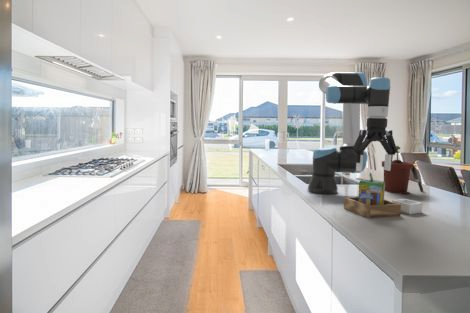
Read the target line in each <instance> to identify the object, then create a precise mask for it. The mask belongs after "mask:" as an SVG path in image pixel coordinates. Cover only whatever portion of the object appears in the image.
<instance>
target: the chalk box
mask: <svg viewBox="0 0 470 313" xmlns="http://www.w3.org/2000/svg"><path fill="white" fill-rule="evenodd" d="M369 178H370V179H364V178H363V179H360V181H359V182H358V197H359V200H358V202H361V203H364V204H366V205H384V199H385V192H386V191H385V181H384V180H377V179H376V180H375V179H373V175H372V172H369Z"/></svg>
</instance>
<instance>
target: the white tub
mask: <svg viewBox="0 0 470 313" xmlns="http://www.w3.org/2000/svg"><path fill="white" fill-rule="evenodd" d="M391 202H395V203H398V204H401V211H400V213H403V214H405V215H413V214H422V213H423V202H421V201H420V202H419V201H416V200H412V199H407V198H401V199H400V198H399V199H393V200H391Z"/></svg>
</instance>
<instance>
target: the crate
mask: <svg viewBox="0 0 470 313" xmlns="http://www.w3.org/2000/svg"><path fill="white" fill-rule="evenodd" d="M343 199H344V200H343V209H346V210H347V211H350V212H353V213H355V214H357V215H360V216H362V217H365V218H367V219H369V218H373V219H374V218H387V217H388V218H389V217H400V216H401V212H400V211H401V204H398V203H395V202H392V200H388V199H385V198H384V205H366V204H364V203H361V202H358V200H359V196H352V197H351V196H350V197H349V196H348V197H343Z"/></svg>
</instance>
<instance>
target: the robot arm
mask: <svg viewBox="0 0 470 313" xmlns="http://www.w3.org/2000/svg"><path fill="white" fill-rule="evenodd" d="M318 82H319V83H318V87H319V90H320V92H322V93H323V94H324V95H325V102H326V103H328V104H342V144H340V146H339V149H337V147H336V146H335V147H334V146H333V147H319V148H316V149H314V150H313V152H312V153H313V154H312V168H311V171H312V172H311V173H312V174H311V178H310V181H309V183H308V186H307V191H308V192H311V193H314V194H321V195H322V194H323V195H334V194H337V193H338V190H339V189H338V185H337V182H336V177H335V175H336V173H344V174H345V173H346V174H347V173H348V174H361V173H363V172H364V170H365V169H366V166H367V162H368V161H367V160H368V152H367V151H365V150H366V149H367V148H368V146H369V145H370V144H371V143H373V142H379V143H380V144H381V146H382V148H383V149H384V151H385V152H386V153H385V154H384V161H385V163H384V167H383V171H384V170H387V171H390V169H391V162H392V161H393V156H395V155H396V154H397V152H398V151H399V150H398V151H397V148H396V146H397V145H396V143H395V139H394V136H393V130H390V129H387V130H386V128H388V118H387V117H389V116H388V115H389V104H390V94H391V93H390V92H391V79H390V78H389V77H383V76H382V77H372V78H370V79H369V83H368V80H367V76H366V74H365V73H364V72H361V71H359V72H358V71H352V72H351V71H346V72H344V71H333V72H330V73H326V74H324V75H323V76H322V77H321V78H320V80H319V81H318ZM361 105H367V112H366V117H368V118H366V124H365V126H366V129H361Z"/></svg>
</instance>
